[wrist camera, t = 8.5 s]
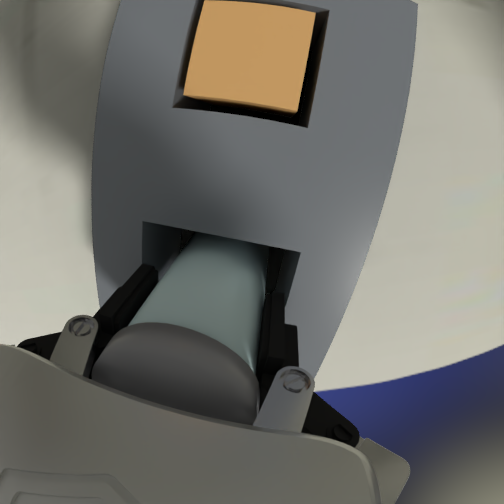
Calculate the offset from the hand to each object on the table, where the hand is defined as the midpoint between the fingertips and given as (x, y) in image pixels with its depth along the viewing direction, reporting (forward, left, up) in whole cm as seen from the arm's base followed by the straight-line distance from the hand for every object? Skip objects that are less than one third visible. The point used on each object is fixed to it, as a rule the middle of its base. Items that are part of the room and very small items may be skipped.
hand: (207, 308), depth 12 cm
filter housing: (0, -5, -6) cm, 8 cm away
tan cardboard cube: (0, -11, -5) cm, 12 cm away
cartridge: (0, 0, -6) cm, 6 cm away
